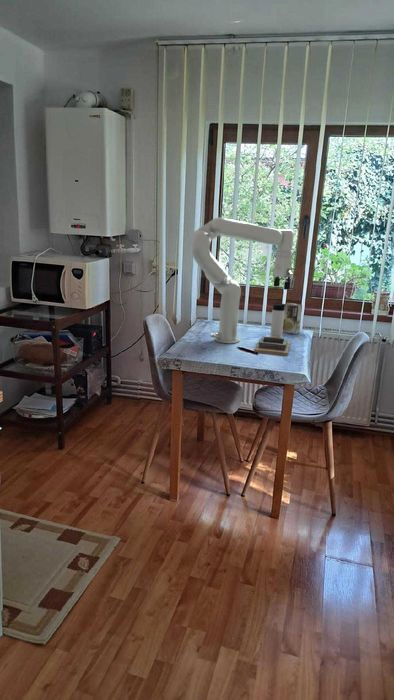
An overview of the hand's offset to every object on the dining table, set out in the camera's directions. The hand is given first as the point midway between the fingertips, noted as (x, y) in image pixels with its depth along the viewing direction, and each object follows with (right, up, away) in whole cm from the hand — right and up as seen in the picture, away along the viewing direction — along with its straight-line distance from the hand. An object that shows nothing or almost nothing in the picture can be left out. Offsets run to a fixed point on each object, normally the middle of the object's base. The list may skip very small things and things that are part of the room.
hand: (281, 287), depth 252 cm
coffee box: (+10, -22, +28) cm, 37 cm away
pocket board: (-6, -31, -7) cm, 33 cm away
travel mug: (-2, -27, +8) cm, 28 cm away
